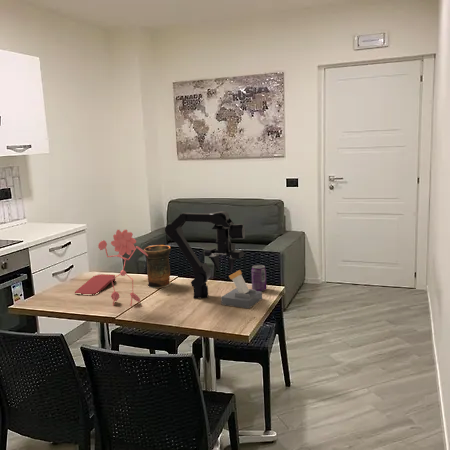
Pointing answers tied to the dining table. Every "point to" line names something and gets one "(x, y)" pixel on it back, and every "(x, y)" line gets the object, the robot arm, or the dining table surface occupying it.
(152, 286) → the vessel
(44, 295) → the dining table surface
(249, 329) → the dining table surface
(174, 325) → the dining table surface
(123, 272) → the figurine
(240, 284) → the lever
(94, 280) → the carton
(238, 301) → the box
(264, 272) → the beverage can
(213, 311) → the dining table surface
